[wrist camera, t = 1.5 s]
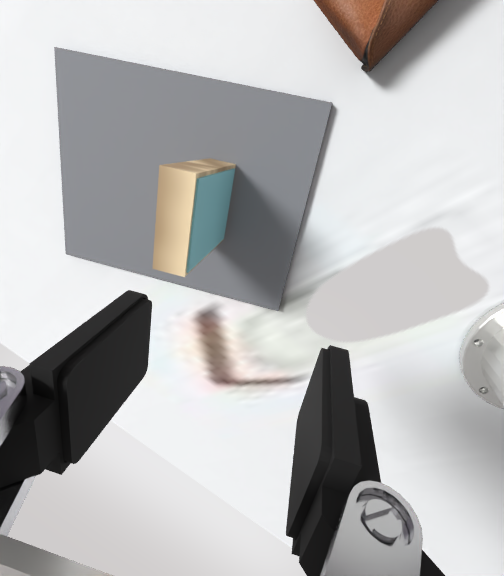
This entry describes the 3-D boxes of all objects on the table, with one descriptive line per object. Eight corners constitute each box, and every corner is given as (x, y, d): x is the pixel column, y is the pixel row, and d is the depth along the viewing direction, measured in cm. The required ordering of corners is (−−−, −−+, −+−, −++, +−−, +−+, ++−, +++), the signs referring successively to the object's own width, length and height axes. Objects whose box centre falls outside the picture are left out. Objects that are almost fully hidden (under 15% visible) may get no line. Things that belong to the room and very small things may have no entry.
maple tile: (237, 164, 29) (198, 174, 20) (225, 240, 32) (186, 277, 23) (209, 158, 29) (159, 164, 20) (200, 233, 32) (152, 268, 23)
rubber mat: (332, 103, 26) (332, 102, 26) (278, 308, 35) (278, 311, 34) (59, 48, 29) (54, 47, 28) (69, 252, 37) (65, 253, 36)
